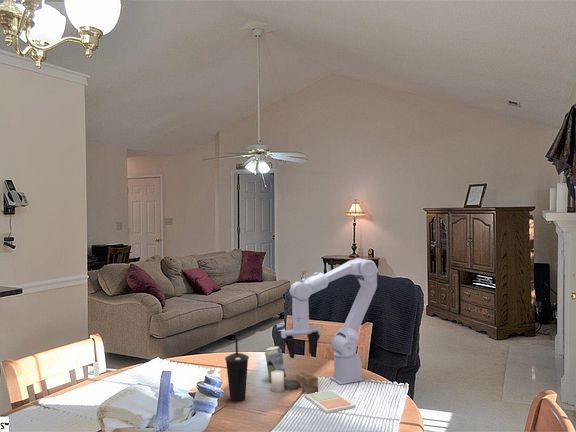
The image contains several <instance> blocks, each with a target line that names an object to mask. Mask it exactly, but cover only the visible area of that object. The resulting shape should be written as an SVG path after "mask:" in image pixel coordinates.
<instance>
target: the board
mask: <svg viewBox="0 0 576 432" xmlns="http://www.w3.org/2000/svg"><path fill="white" fill-rule="evenodd" d="M304 398H305V399H307V400H308V401H309V402H311V403H312V404H313V405H314V406H316V407H318V408H319V409H320V410H322V411H323V412H324V413H326V414H330V413H335V412H341V411H345V410H344V409H346V410H350V409H349V408H351V409H354V408H355V409H356V404H355V403H354V402H351V401H350V400H348V399H347V398H345V397H344V396H342V395H341V394H339V393H338V392H336V391H334V390H333V389H330V390H329V389H327V390H323V391H318V392H317V393H311V394H306V393H305V394H304ZM340 410H341V411H340Z"/></svg>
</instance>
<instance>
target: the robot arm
mask: <svg viewBox="0 0 576 432" xmlns="http://www.w3.org/2000/svg"><path fill="white" fill-rule="evenodd" d="M378 273H379V269H378V267H377V264H376V262H374V261H373V260H371V259H364V258H361V257H355V258H354V259H350V260H348V261H346V262H345V263H343V264H341V265H339V266H337V267H335V268H333V269H331V270H330V271H327V272H326V273H323V272H316V271H315V272H314V273H313V275H311V276H308V277H307V278H302V279H301V281H295V282H294V283H292V285H290V289H289V295H290V297H292V298H291V301H292V303H291V305H292V306H291V310H292V328H291V329H287V330H283V331H280V336H281V338H282V340H283V341H284V343H285V345H286V349H287V351H288V355H289V358H291V359H295V343H296V339H295V338H294V337H296V336H297V337H298V336H305V335H307V339H308V340H307V341H308V353H309V355H311V356H314V354H315V349H316V346H317V344H318V341H319V339H320V336H321V335H320V334H322V333H321V332H322V330H321V328H322V327H320V326H310V311H309V310H310V309H309V306H310V305H309V304H310V303H309V298H311V297H310V296H311V295H313V294H316V293H317V292H319V291H322V290H324V289H326V288H327V287H328V285H329V284H330V282H333V281H335V280H338V279H340V278H343V277H346V276H347V275H354V276H355V277H356V279H357V281H358V283H359V285H360V287H359V289H358V291H357V294H356V296H355V299H354V302H353V303H352V305H351V308H350V309H349V310H350V311H349V312H348V314H347V317H346V319H345V321H344V324H343V326H341V327H340V328H338V330H337V333H335V335H333V337H332V338H331V340H330V345H331V348H332V349H333V350H334V351H333V371H334V372H333V373H334V374H333V375H334V376H333V375H332V376H329V379H331V380H332V381H334V382H336V383H337V384H339V385H346V384H352V383H356V382H361V381H364V378H363V372H362V371H363V367H362V359H361V356H360V355H359V354H358V353H357V349H358V345H357V344H358V342H359V329H360V327H361V325H362V323H363V320H364V318H365V315H366V313H367V311H368V309H369V306H370V304H371V302H372V300H373V297H374V295H375V293H376V290H377V289H378V288H377V287H378Z"/></svg>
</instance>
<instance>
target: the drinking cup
mask: <svg viewBox="0 0 576 432" xmlns="http://www.w3.org/2000/svg"><path fill="white" fill-rule="evenodd" d="M234 341H235V352H233V353H231V354H229V355H226V356H225V358H224V360H225V363H226V364H225V365H226V371H227V372H226V373H227V381H228V382H227V383H228V389H229V397H230V398H229V399H230V402H234V403H240V402H244V401H246V393H247V380H248V379H247V378H248V366H249V365H248V364H249V358H250V356H249V355H247V354H244V353H241V352H239V348H238V347H239V346H238V341H239V339H238V337H235V340H234Z"/></svg>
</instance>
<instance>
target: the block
mask: <svg viewBox="0 0 576 432" xmlns="http://www.w3.org/2000/svg"><path fill="white" fill-rule="evenodd" d="M310 374H311V375H305V376H302V388H301V390H302V392H303V393H305V395H306V394H311V393H315V392H319V377H318V376H316V375H314V374H312V373H310Z"/></svg>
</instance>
